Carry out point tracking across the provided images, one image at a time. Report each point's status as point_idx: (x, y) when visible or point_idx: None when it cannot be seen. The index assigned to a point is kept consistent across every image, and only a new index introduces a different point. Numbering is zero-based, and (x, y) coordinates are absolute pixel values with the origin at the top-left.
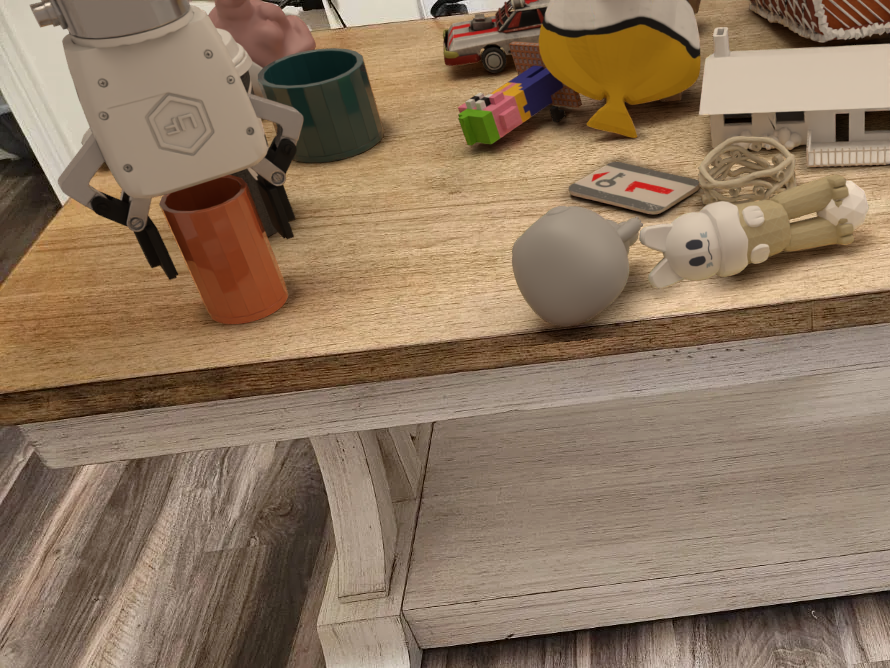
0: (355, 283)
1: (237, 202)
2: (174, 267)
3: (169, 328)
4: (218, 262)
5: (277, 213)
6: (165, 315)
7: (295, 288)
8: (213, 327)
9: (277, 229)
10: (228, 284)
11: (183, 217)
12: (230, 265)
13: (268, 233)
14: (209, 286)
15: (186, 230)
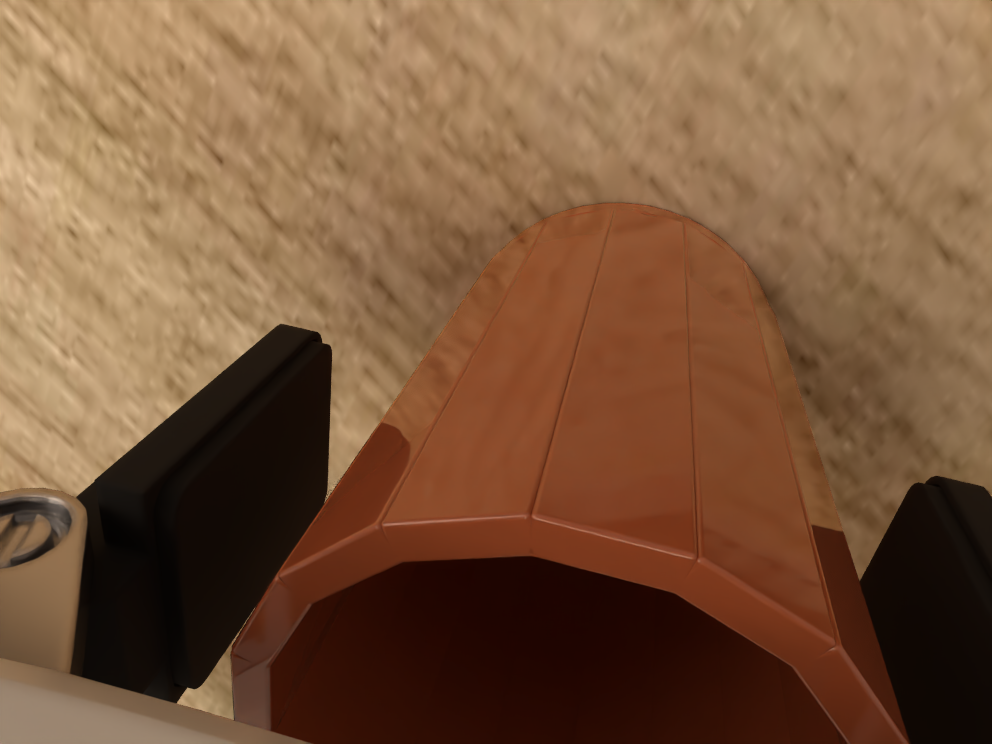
0: (251, 137)
1: (400, 500)
2: (939, 509)
3: (912, 448)
4: (734, 358)
5: (245, 409)
6: (856, 531)
7: (438, 303)
8: (807, 314)
9: (321, 431)
10: (723, 297)
11: (865, 665)
12: (681, 316)
13: None
14: (788, 370)
15: (852, 589)
